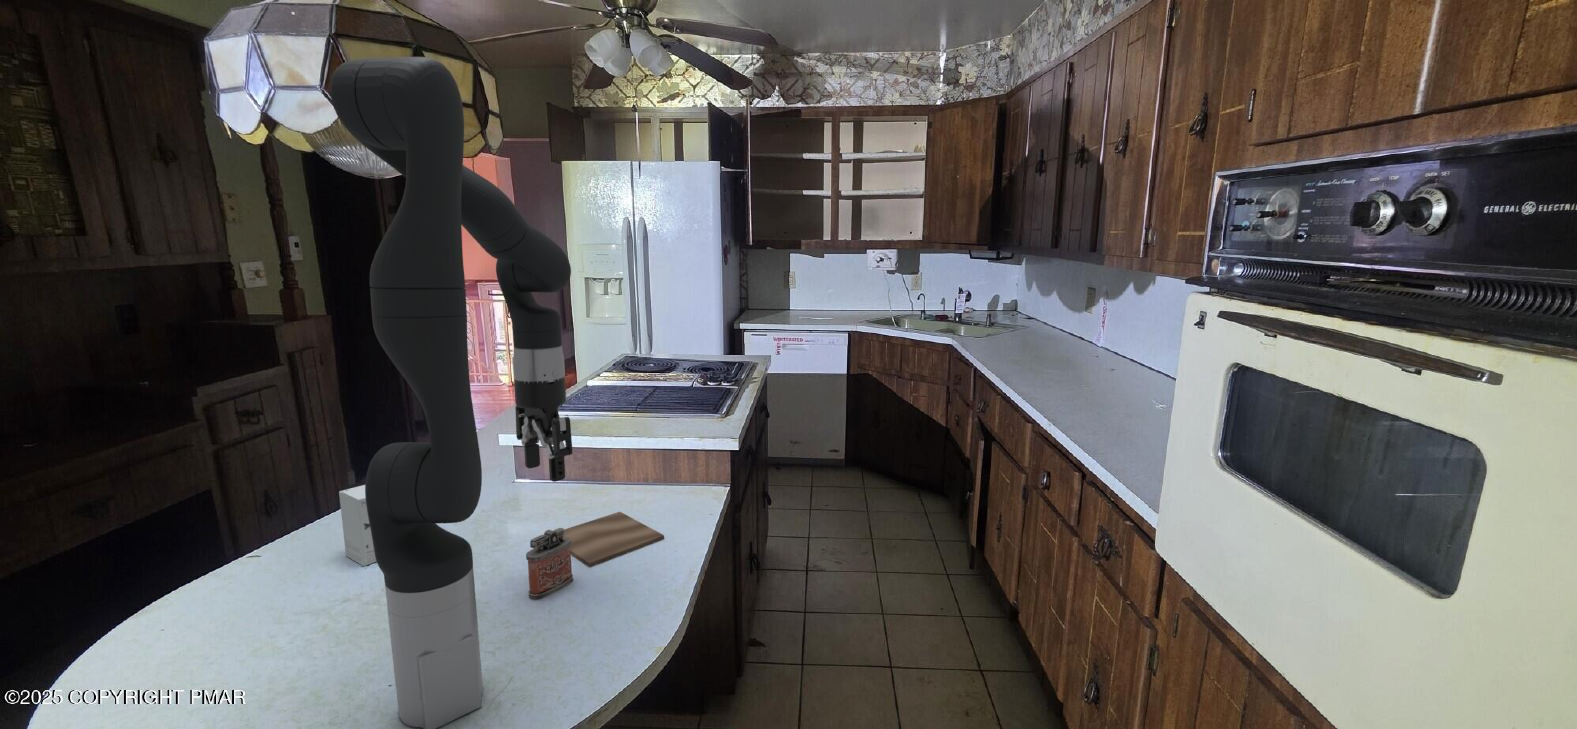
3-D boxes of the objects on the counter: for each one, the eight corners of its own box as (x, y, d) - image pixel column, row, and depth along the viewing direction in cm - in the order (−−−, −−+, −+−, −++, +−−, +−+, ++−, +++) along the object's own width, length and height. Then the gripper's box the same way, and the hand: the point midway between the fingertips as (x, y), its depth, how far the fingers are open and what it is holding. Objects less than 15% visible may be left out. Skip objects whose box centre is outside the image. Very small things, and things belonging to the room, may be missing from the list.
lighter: (564, 575, 109) (561, 521, 107) (577, 580, 107) (575, 525, 106) (524, 596, 102) (520, 538, 101) (537, 602, 101) (534, 544, 99)
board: (664, 539, 123) (664, 535, 123) (589, 567, 112) (589, 563, 112) (620, 515, 134) (619, 511, 134) (547, 538, 123) (547, 534, 123)
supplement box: (363, 567, 111) (356, 499, 109) (345, 556, 115) (337, 490, 113) (407, 551, 117) (401, 487, 115) (388, 541, 121) (382, 478, 119)
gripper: (496, 371, 101) (502, 468, 104) (537, 384, 91) (543, 491, 94) (541, 366, 106) (546, 458, 109) (584, 378, 97) (589, 478, 99)
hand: (545, 473), depth 102 cm, fingers open, 8 cm apart
